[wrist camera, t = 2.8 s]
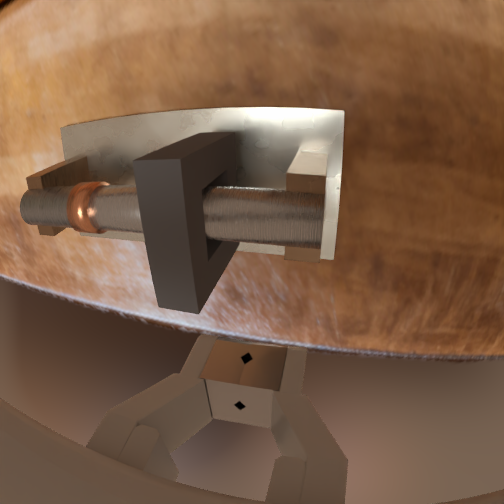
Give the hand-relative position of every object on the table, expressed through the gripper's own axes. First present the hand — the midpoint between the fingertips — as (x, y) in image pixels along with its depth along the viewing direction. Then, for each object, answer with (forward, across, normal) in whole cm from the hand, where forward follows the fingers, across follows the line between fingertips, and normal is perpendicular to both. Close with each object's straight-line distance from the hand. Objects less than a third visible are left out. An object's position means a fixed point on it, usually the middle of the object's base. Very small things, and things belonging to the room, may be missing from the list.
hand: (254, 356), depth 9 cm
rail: (+16, +9, 0) cm, 19 cm away
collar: (+14, +5, 0) cm, 15 cm away
